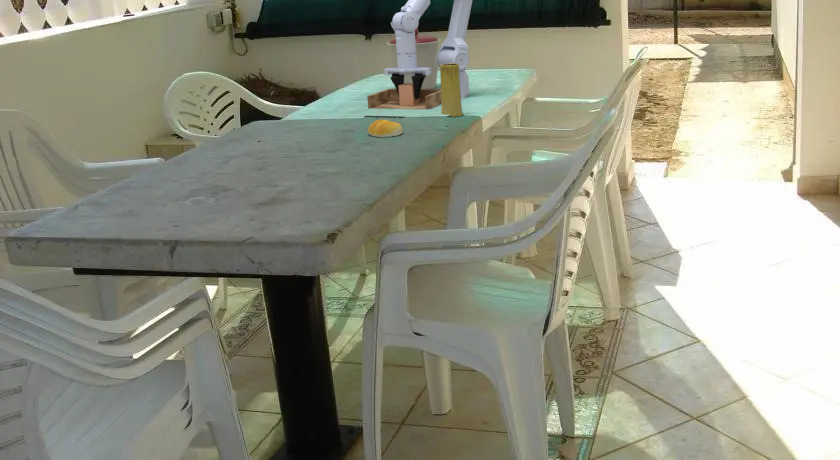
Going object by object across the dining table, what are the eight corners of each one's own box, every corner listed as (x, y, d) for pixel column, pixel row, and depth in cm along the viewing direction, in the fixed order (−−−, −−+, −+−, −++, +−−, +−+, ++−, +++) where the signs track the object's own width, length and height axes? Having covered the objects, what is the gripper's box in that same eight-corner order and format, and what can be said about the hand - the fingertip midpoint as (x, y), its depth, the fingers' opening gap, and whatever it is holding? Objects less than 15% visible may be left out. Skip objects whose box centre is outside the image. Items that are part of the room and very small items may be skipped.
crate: (388, 103, 278) (387, 88, 276) (447, 103, 269) (447, 89, 268) (368, 110, 265) (367, 95, 264) (429, 111, 257) (428, 96, 256)
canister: (381, 90, 305) (377, 28, 299) (429, 85, 312) (425, 24, 306) (403, 96, 289) (398, 30, 283) (452, 90, 297) (449, 26, 290)
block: (406, 102, 271) (404, 83, 269) (419, 102, 269) (418, 83, 267) (399, 105, 267) (398, 85, 265) (413, 105, 265) (412, 85, 263)
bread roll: (385, 139, 222) (384, 124, 221) (363, 136, 229) (362, 120, 228) (410, 134, 227) (409, 118, 226) (388, 130, 234) (387, 115, 233)
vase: (463, 113, 252) (461, 62, 248) (462, 116, 246) (459, 65, 242) (441, 114, 253) (439, 63, 248) (440, 117, 247) (437, 66, 243)
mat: (379, 111, 263) (379, 110, 263) (416, 111, 258) (416, 110, 258) (364, 117, 255) (364, 116, 255) (401, 118, 250) (401, 117, 250)
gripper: (378, 55, 263) (382, 100, 267) (423, 54, 257) (426, 101, 261) (389, 52, 269) (392, 96, 273) (432, 51, 263) (435, 97, 267)
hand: (409, 98), depth 268 cm, fingers closed on block, 4 cm apart
